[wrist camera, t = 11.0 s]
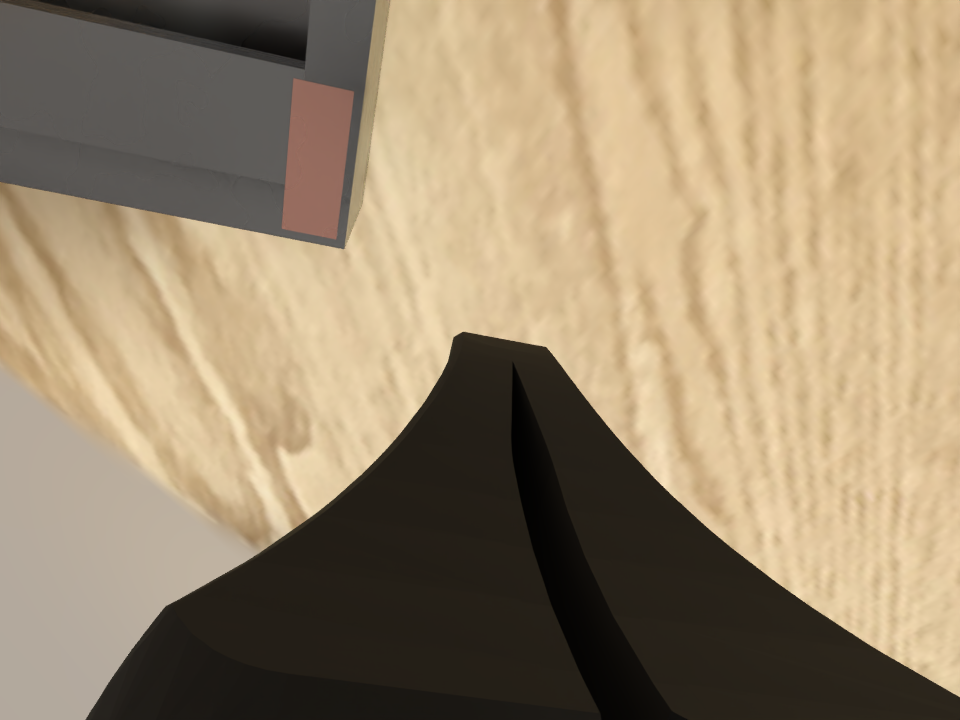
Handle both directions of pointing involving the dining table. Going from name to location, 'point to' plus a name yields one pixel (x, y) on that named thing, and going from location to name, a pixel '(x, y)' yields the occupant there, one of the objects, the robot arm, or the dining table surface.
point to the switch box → (196, 107)
